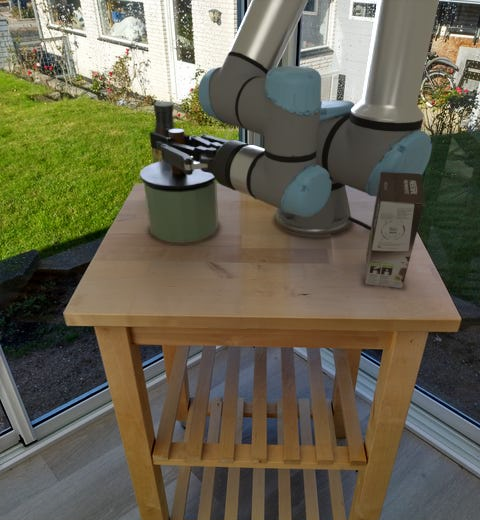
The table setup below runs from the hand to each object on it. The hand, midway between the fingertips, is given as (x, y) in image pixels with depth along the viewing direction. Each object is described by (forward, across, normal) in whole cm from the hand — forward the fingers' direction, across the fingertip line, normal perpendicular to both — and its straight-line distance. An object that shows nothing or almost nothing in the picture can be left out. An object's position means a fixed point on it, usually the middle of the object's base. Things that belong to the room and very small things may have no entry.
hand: (159, 138), depth 94 cm
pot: (-5, 0, -17) cm, 18 cm away
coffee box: (-43, +14, -16) cm, 49 cm away
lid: (-5, 0, -6) cm, 8 cm away
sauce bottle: (+12, +9, -17) cm, 23 cm away
